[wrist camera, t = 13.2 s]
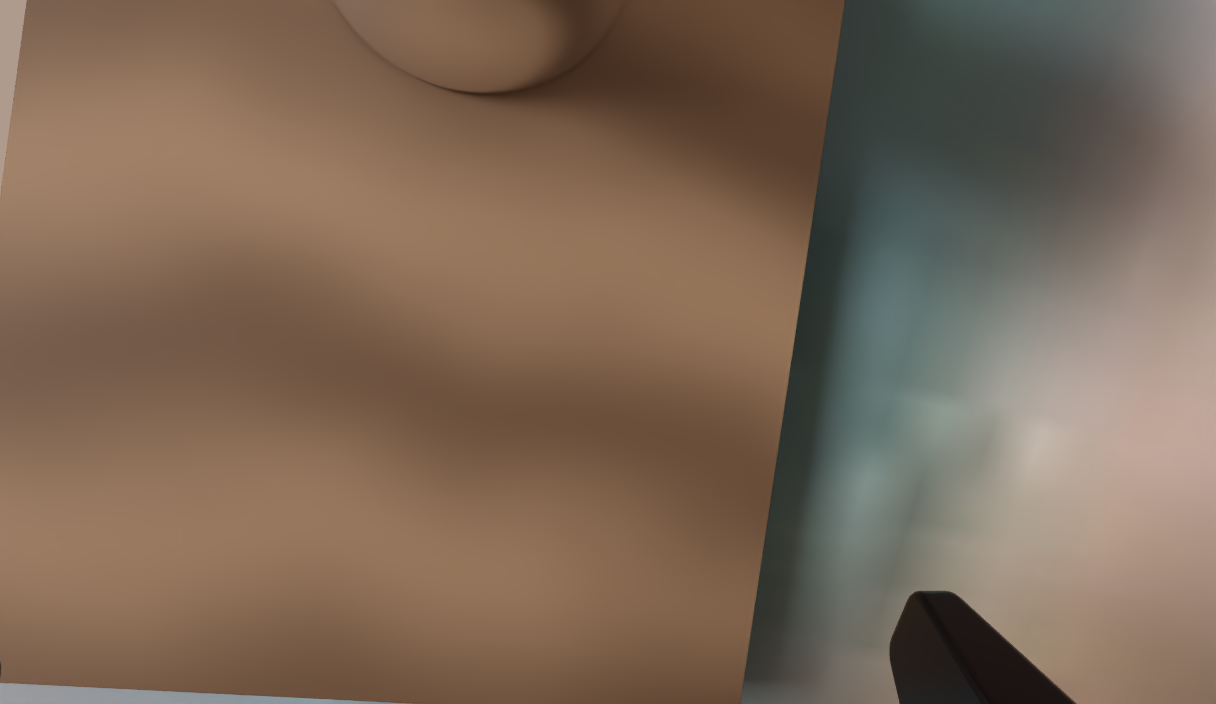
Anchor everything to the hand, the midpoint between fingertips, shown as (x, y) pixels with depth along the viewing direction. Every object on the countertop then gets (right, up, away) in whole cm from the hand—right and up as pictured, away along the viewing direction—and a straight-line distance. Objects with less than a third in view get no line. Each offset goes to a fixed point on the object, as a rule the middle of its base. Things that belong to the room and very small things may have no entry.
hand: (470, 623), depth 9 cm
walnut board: (-2, +8, +10) cm, 13 cm away
